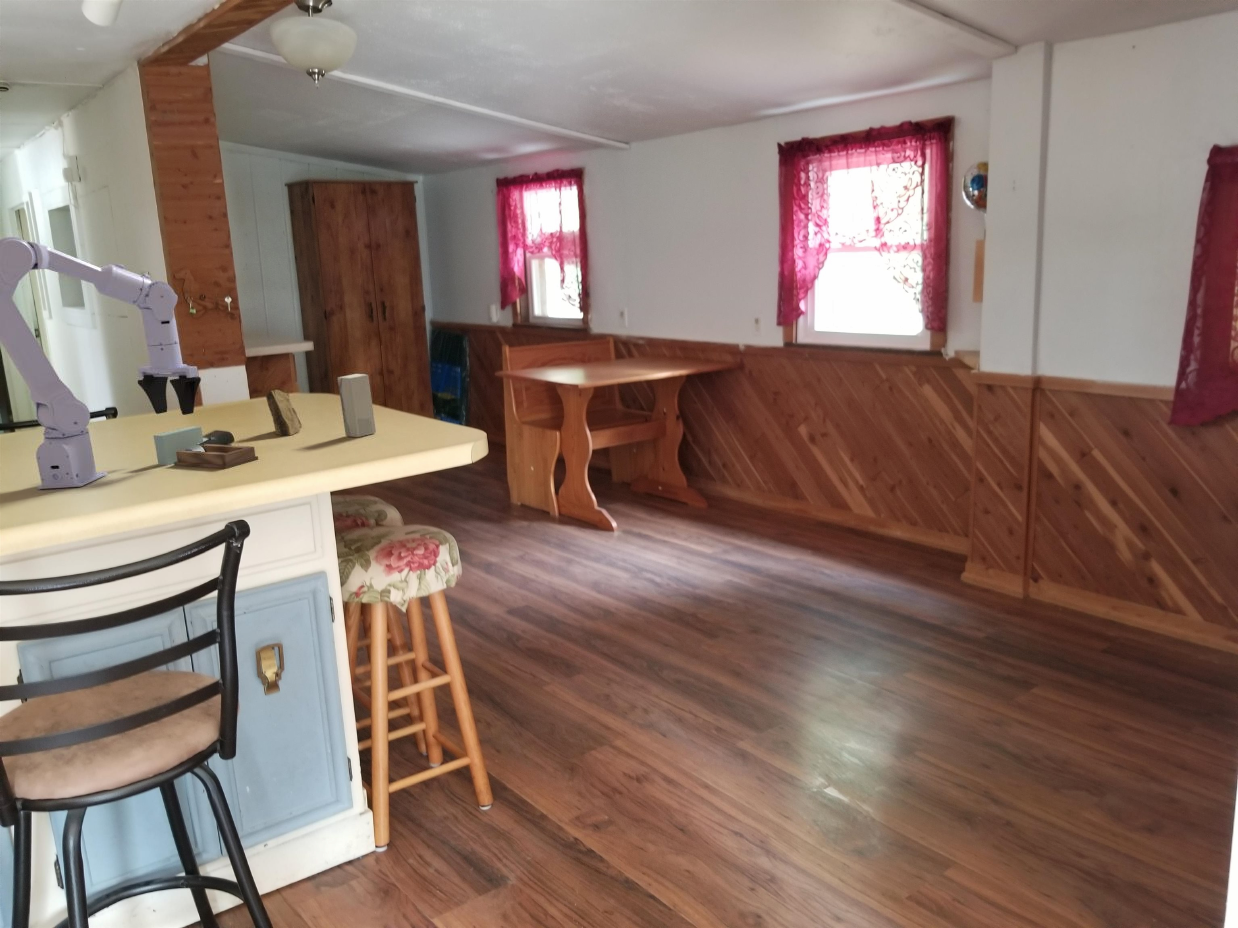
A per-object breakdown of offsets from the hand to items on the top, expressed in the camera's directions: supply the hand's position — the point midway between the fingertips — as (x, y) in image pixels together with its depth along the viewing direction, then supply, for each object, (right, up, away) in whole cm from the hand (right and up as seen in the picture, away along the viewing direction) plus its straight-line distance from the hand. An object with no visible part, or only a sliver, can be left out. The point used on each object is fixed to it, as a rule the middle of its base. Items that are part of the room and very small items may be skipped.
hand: (174, 413), depth 188 cm
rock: (+14, -3, +27) cm, 31 cm away
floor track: (+9, -10, -2) cm, 13 cm away
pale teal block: (+1, -9, +2) cm, 10 cm away
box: (+32, -4, +17) cm, 37 cm away
